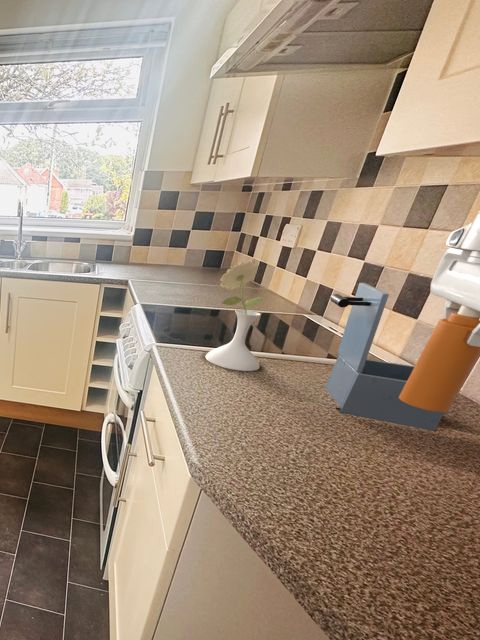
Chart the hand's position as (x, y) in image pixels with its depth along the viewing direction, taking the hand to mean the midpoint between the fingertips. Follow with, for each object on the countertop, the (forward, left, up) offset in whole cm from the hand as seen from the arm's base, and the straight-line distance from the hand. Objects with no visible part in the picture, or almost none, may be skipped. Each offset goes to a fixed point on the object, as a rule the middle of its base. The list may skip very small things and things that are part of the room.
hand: (459, 338), depth 61 cm
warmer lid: (+6, -16, -3) cm, 17 cm away
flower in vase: (+23, -28, -20) cm, 41 cm away
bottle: (0, 0, -11) cm, 11 cm away
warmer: (-1, -16, -20) cm, 25 cm away
